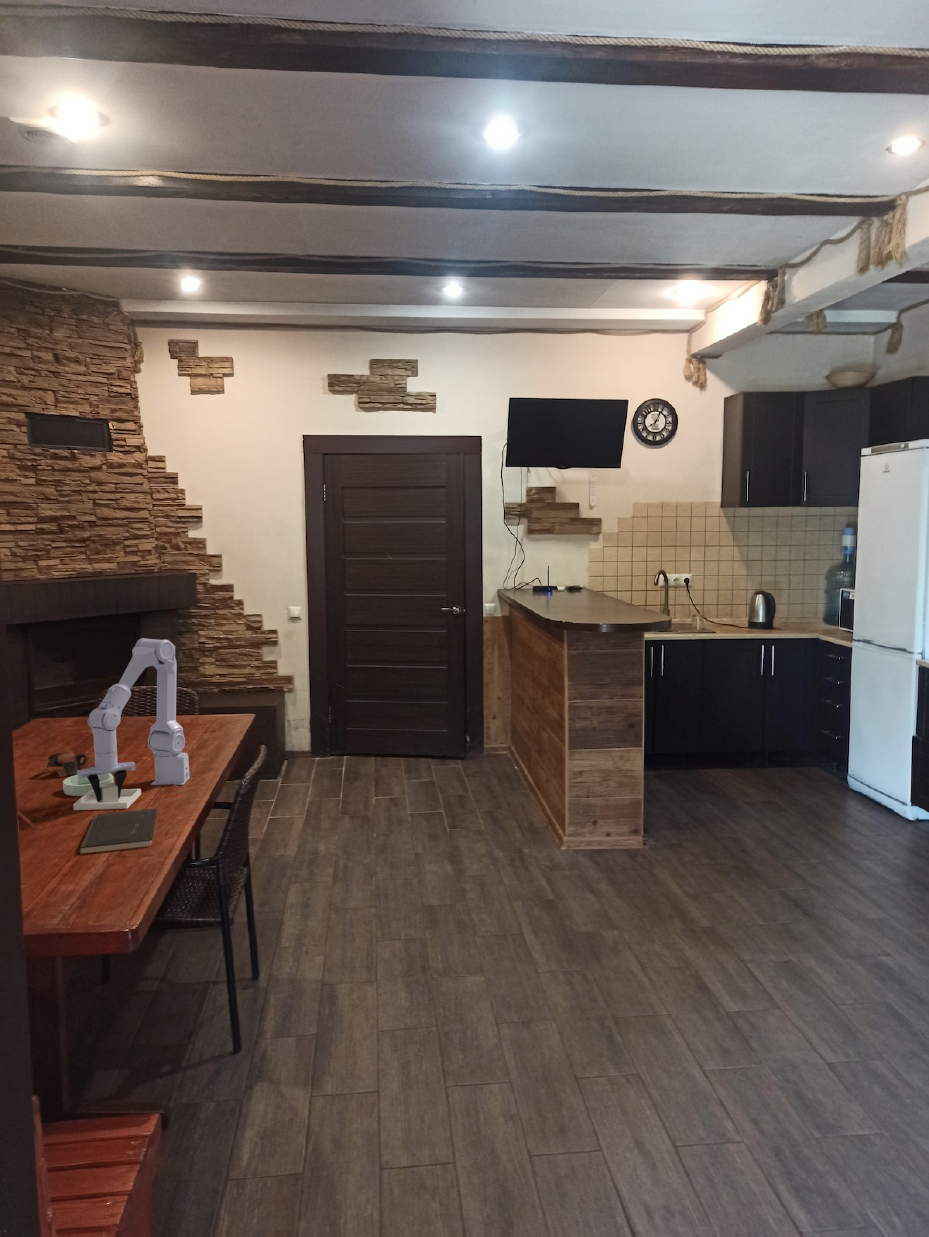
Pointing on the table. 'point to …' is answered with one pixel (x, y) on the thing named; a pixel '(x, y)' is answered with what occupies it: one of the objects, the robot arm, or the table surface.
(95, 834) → the hardcover book
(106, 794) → the block
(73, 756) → the pottery mug
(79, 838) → the table surface
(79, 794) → the bowl
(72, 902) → the table surface
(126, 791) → the tray
